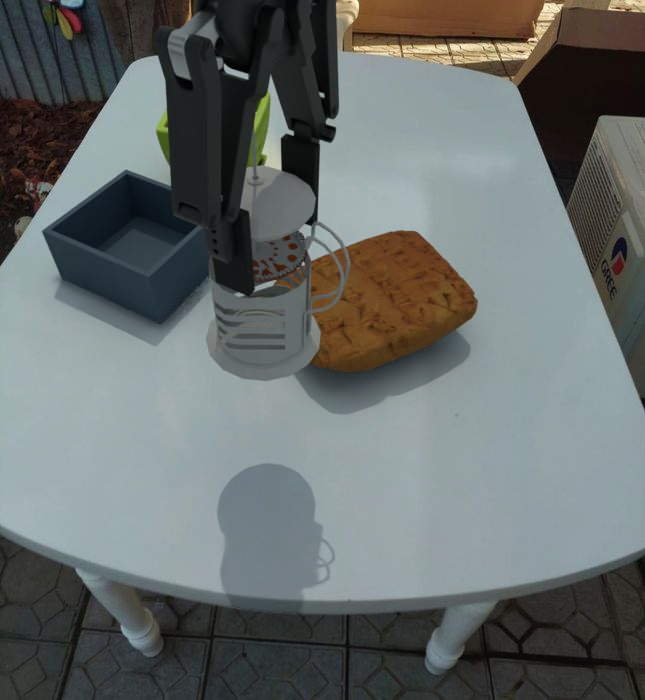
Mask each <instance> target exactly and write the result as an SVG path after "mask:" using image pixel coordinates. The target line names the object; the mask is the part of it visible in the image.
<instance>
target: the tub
mask: <svg viewBox="0 0 645 700" xmlns="http://www.w3.org/2000/svg"><path fill="white" fill-rule="evenodd" d="M41 233H42V235H43V238H44V240H45V242H46V246H47V248H48V250H49V252H50V255H51V257H52V259H53V262H54V264H55V266H56V269H57V271H58V274H59V275H60V278H61V279H62V280H64V281H66V282H68V283H70V284H72V285H74V286H77V287H79V288H81V289H84V290H85V291H88V292H90V293H91V294H92V293H93V294H94V295H97V296H98V297H101V298H102V299H106V300H107V301H110V302H112V303H114V304H116V305H119V306H121V307H122V308H125V309H127V310H129V311H131V312H133V313H136V314H138V315H140V316H142V317H145V318H147V319H148V320H150V321H153V322H155V323H157V324H160V325H162V324H163V323H164V322H165V321H166V320H167V319H168V318H169V317H170V316H171V315H172V314H173V313H174V312H175V311H176V310H177V309H178V308H179V307H180V306H181V305H182V304H183V303H184V302H185V301H186V300H187V299H188V298H189V296H191V295H192V294H193V293H194V291H196V289H197V288H199V287H200V286H201V285H202V284H203V282H205V280H207V279H208V278H209V277H210V274H209V259H210V255H209V254H208V252H207V246H206V245H207V244H206V239H205V233H204V228H203V227H201V226H198V225H196V224H193V223H191V222H188V221H186V220H183V219H181V218H179V217H176V216H174V214H173V211H172V194H171V185H169V184H167V183H164V182H161V181H158V180H156V179H154V178H151V177H148V176H145V175H143V174H139V173H138V172H137V173H136V172H134V171H132V170H128V169H124V170H123V171H121V172H120V173H118V174H117V175H116V176H115V177H113V178H112V179H111V180H109V181H108V182H107V183H105V184H104V185H102V186H101V187H99V188H97V190H96V191H94V192H93V193H91V194H90V195H89V196H87V197H86V198H84V200H82V201H80V202H79V203H78V204H76V205H75V206H73V207H72V208H71V209H70V210H68V211H66V212H65V213H64V214H63V215H61V216H60V217H59V218H57V219H56V220H55V221H54V222H52V223H50V224H49V225H48V226H46V227H45V228H43V229H42V230H41Z"/></svg>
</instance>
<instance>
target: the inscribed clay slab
mask: <svg viewBox="0 0 645 700" xmlns="http://www.w3.org/2000/svg"><path fill="white" fill-rule="evenodd" d="M345 247H346V250H347V252H348V255H349V259H350V267H349V273H348V278H347V280H346V283H345V285H344V286H343V292H342V294H341V296H340V298H339V300H338V301H337V302H336V303H335V304H334V306H332V307H331V308H329V309H327V310H325V311H322V312H316V313H312V316H313V317H314V318H315V320H316V322H317V325H318V327H319V330H320V332H321V335H320V344H319V350H318V351H317V353H316V354H315V355H314V357H313V358H312V360H311V361H310V363H309V364H311V365H313V366H314V367H315V368H319V369H330V370H333V371H338V372H342V373H345V374H347V373H358V372H364V371H370V370H373V369H376V368H379V367H381V366H383V365H385V364H388V363H390V362H393V361H395V360H398V359H401V358H403V357H405V356H408V355H410V354H412V353H416V352H417V351H420V350H422V349H423V350H424V348H426V347H429V346H431V345H433V344H435V343H437V342H439V341H440V340H441V339H442V338H444V337H446V336H447V335H449V334H450V333H452V332H454V331H456V330H457V329H459V328H460V327H462V326H463V325H464V324H466V323H468V322H469V321H470V320H471V319H473V318H474V316H475V314H476V313H477V309H478V305H479V304H478V303H479V300H478V299H477V298H476V296H475V294H476V292H475V291H474V290H473V289H472V287H471V286H470V285H469V283H468V282H467V281H466V279H465V278H463V277H461V275H460V274H459V272H458V271H457V270H455V268H454V267H453V266H452V265H451V264H450V262H448V260H447V259H445V258H444V257H443V256H442V255H441V254H440V253H439V251H438V250H437V249H436V248H435V247H434V246H433V245H432V244H431V243H430V242H429V241H427V239H426V238H425V237H424V236H423V235H421V233H419V232H418V231H416V230H403V229H402V230H395V231H392V230H390V231H388V232H385V233H381V234H378V235H375V236H372V237H369V238H368V237H367V238H365V239H362V240H360V241H357V242H355V243H351V244H350V245H348V246H345ZM332 252H333V253H334V254H335V256H336V257H337V259H338V261H339V263H340V265H341V266H342V269H343V273H344V277H345V273H346V258H345V254H344V252H343V250H342V248H341V247H340V248H338V249H336V250H333V251H332ZM302 266H303V267H304V269H305V270H306V265H305V264H304V265H302ZM296 271H297V272H298V273H299V274H300V275H301V277H302V278H303V280H305V276H304V275H303V273H302V271H301V270H300V268H299V267H298V269H297V270H296ZM287 276H289V277H291V278H292V279H293V280H294V281H295V282H296V283H298V284H299V285H301V284H302V283H301V282H300V280H299V279H298V278H297V277H295V276H294V275H293V274H292V273H291V274H289V275H287ZM340 280H341V275H340V272H339V268H338V266H337V264H336V262H335V260H334V258H333V257H332V256H331V255H330V254H329V253H327V254H324V255H321V256H319V257H317V258H315V259H313V260H311V285H310V299H311V298H312V297H313V296H317V295H324V294H328V293H331V292H333V291H335V290H336V289H337V288H338V287H339V285H340ZM274 285H282V286H288V287H290V288H291V289H292V290H293V289H295V287H294V286H293V285H292V284H290V283H289V282H286V281H281V280H275V282H274V283H273V285H272V286H274ZM338 293H339V292H338ZM338 293H336V294H334V295H332V296H330V297H326V298H320V299H314V300H313V302H312V309H318V308H324V307H326V306H328V305H330V304H331V303H332V302H333V300H334V299H335V297H336V296H337V295H338Z"/></svg>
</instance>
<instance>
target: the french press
mask: <svg viewBox="0 0 645 700" xmlns="http://www.w3.org/2000/svg"><path fill="white" fill-rule="evenodd" d="M249 76H250V74H247V77H248V78H247V79H249ZM252 157H253V167H247V169H246V175H245V181H244V187H243V193H242V199H241V205H240V208H241V209H244V210H247V211H249V216H250V229H251V243H252V256H253V270H254V283H255V287H258V286H261V285H263V284H267V283H270V282H274V281H277V280H281V281H286V282H289V283H290V284H292V285H293V286H294V287H295V289H293V290H292V289H291V288H290V287H288V286H282V285H274V284H273V285H274V286H273V285H271V286H268V287H264V288H260V289H258V290H255V291H254V292H253V293H252V294H251V295H250V296H249V297H248V296H246V295H244V294H243V295H240V296H238V295H236V294H238V293H239V292H237V291H234V290H232V289H230V288H227V287H225V286H223V285H220V284H218V283H216V279H215V272H214V265H213V258H212V257H211V256H210V259H209V274H210V275H209V282H210V289H211V296H212V297H211V298H212V304H213V309H214V310H213V313H214V318H213V319H212V320H211V321H210V323H209V326H208V330H207V333H206V336H205V342H206V347H207V350H208V354H209V356H210V358H211V359H212V360H213V361H214V362H215V363H216V364H217V366H218V367H219V368H220V369H221V370H223V371H224V372H227V373H229V374H231V375H233V376H236V377H238V378H240V379H243V380H248V381H249V380H252V381H262V382H269V381H273V380H277V379H283V378H286V377H291V376H292V375H295V374H296V373H297V372H299V371H300V370H302V369H303V368H305V367H307V366H308V365H310V364H311V363H310V361H311V360H312V358H313V357H314V355H315V354H316V353H317V351H318V350H319V344H320V335H321V332H320V330H319V327H318V325H317V322H316V320H315V318H314V317H313V316H312V313H316V312H322V311H325V310H327V309H329V308H331V307H332V306H334V304H335V303H336V302H337V301H338V300H339V298H340V296H341V294H342V292H343V286H344V285H345V283H346V280H347V278H348V273H349V267H350V259H349V255H348V252H347V250H346V247H347V246H345V243H344V241H343V240H342V239H341V238H340V236H339V235H338V234H337V233H336V232H335V231H334V230H333V229H332V228H330V227H328V226H327V225H326V224H324V223H323V222H321V221H318V222H314V223H313V224H312V225H311V226H310V227H311V229H310V235H307V236H306V237H305V236H304V234H303V233H302V232H301V231H300V229H301V228H302V227H303V226H304V225H306V224H305V223H306V222H307V221H308V220H309V218H310V217H311V216H312V215H313V212H314V207H315V201H316V197H315V195H314V193H313V191H312V189H311V187H310V186H309V185H308V184H307V183H305V182H304V181H303V180H301V179H300V178H298V177H297V176H296V175H293V174H290V173H287V172H284V171H281V169H279V168H278V169H277V168H274V167H270V166H267V165H265V166H263V165H261V166H256V150H255V130H254V126H253V132H252ZM221 197H222V196H221ZM317 226H319V227H321V229H323V230H325V231H327V232H328V233H329V234H330V235H331V236H332V237H333V238H334V239H335V240H336V242H337V243H338V244H339V247H340V248H342V250H343V252H344V254H345V258H346V273H345V277H344V273H343V269H342V266H341V265H340V263H339V261H338V259H337V257H336V256H335V254H334V253H333V252H334V251H332V250H331V248H330V247H329V246H328V245H327V243H325V242H323V241H322V240H321V239H318V238H317V237H316V236H315V235H316V227H317ZM313 242H315V243H316V244H318V245H319V246H320V247H323V248H324V249H325V250H326V252H327V253H328V254H330V255H331V256H332V257H333V258H334V260H335V262H336V264H337V266H338V268H339V272H340V275H341V280H340V285H339V287H338V288H337V289H336V290H335V291H333V292H331V293H328V294H324V295H317V296H313V297H312V298H311V299H310V285H311V261H312V260H311V259H312V258H311V257H310V255H309V251H308V250H309V249H310V247H311V245H312V244H313ZM303 263H304V265H306V270H305V269H304V267H303V266H304V265H303ZM298 268H300V270H301V271H302V273H303V275H304V276H305V280H303V278H302V277H301V275H300V274H299V273H298V272H297V271H296V270H297V269H298ZM291 273H292V274H293V275H294V276H295V277H297V278H298V279H299V280H300V282H301V283H302V284H301V285H299V284H298V283H296V282H295V281H294V280H293V279H292V278H291V277H289V276H287V275H289V274H291ZM338 292H339V293H338ZM336 293H338V295H337V296H336V297H335V299H334V300H333V302H332V303H331V304H330V305H328V306H326V307H324V308H318V309H312V302H313V300H314V299H320V298H326V297H330V296H332V295H334V294H336Z"/></svg>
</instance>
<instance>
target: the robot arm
mask: <svg viewBox="0 0 645 700" xmlns="http://www.w3.org/2000/svg"><path fill="white" fill-rule="evenodd" d="M337 2H338V1H337V0H194V3H193V13H194V15H193V16H192V17H190V19H189V20H187V21H186V22H185V23H184V24H183V25H182V26H181V27H180V28H174V27H171V26H169V25H168V26H167V25H160V26H159V27H158V28H157V29H156V30H155V34H154V40H153V43H154V48H155V52H156V55H157V59H158V61H159V64H160V67H161V71H162V74H163V78H164V81H165V98H166V99H165V100H166V109H167V121H168V139H169V157H170V166H169V173H170V186H171V194H172V211H173V214H174V216H176V217H179V218H181V219H183V220H186V221H188V222H191V223H193V224H196V225H198V226H201V227H203V228H204V233H205V239H206V244H207V245H206V246H207V252H208V254H209V255H210V256H211V257H212V258H213V265H214V272H215V279H216V283H218V284H220V285H223V286H225V287H227V288H230V289H232V290H234V291H237V292H238V293H239V294H242V295H243V296H244V295H246V296H248V297H249V296H250V295H251V294H252V293H253V292H255V291H256V286H255V283H254V270H253V256H252V243H251V229H250V216H249V211H247V210H244V209H241V208H240V205H241V199H242V193H243V187H244V181H245V175H246V169H247V163H248V157H249V151H250V145H251V138H252V132H253V126H254V120H255V115H256V113H257V112H256V108H257V103H258V101H259V100H260V99H262V98H264V97H265V96H266V95H267V92H269V86H270V81H271V80H272V83H273V87H274V89H275V92H276V95H277V99H278V101H279V104H280V107H281V111H282V113H283V117H284V120H285V123H286V127H287V129H288V131H291V132H293V135H292V134H290V133H287V132H286V133H284V135H282V136H281V137H280V170H281V171H284V172H287V173H290V174H293V175H296V176H297V177H298V178H300V179H301V180H303V181H304V182H305V183H307V184H308V185H309V186H310V187H311V189H312V191H313V193H314V195H315V197H316V201H315V207H314V212H313V215H312V216H311V217H310V218H309V220H308V221H307V222H306V223H305V224H304V225H307V226H309V227H311V225H312V224H313V223H314V222H319V220H318V219H319V218H318V217H319V195H320V193H319V191H320V190H319V188H320V164H321V163H320V161H321V160H320V159H321V143H320V141H322V142H325V143H328V144H331V143H333V141H334V140H335V138H336V135H337V126H333V125H331V124H328V123H327V120H328V119H330V120H335V119H336V118H337V116H338V114H339V112H340V89H339V85H340V84H339V57H338V56H339V54H338V23H337V22H338V21H337V20H338V19H337ZM225 66H226V67H227V68H229V69H231V70H233V71H235V72H236V71H237V72H239V73H243V74H247V75H248V74H250V76H249V79H248V78H245V77H240V76H237V75H234V74H231V73H228V72H227V71H226V69H225ZM270 79H271V80H270ZM321 94H323V96H321ZM221 196H222V197H221Z"/></svg>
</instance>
